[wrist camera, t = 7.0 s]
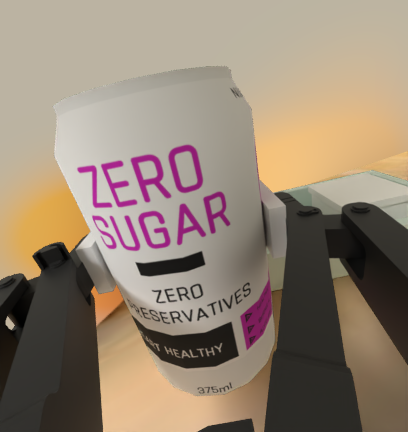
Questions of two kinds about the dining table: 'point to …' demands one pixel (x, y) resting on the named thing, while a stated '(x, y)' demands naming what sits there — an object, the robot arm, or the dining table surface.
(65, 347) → the robot arm
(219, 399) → the dining table surface
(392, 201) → the pale grey square block
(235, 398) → the dining table surface
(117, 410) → the dining table surface
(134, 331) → the dining table surface
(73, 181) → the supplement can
